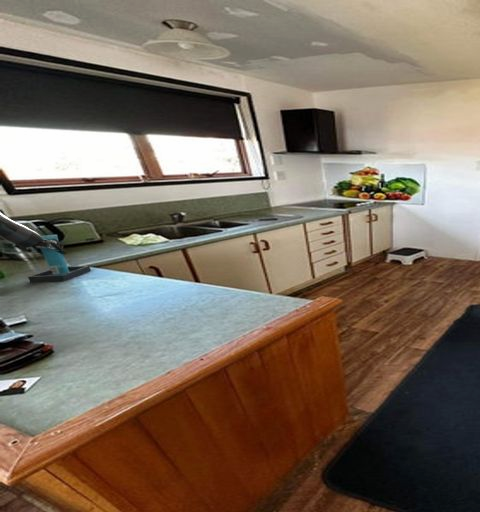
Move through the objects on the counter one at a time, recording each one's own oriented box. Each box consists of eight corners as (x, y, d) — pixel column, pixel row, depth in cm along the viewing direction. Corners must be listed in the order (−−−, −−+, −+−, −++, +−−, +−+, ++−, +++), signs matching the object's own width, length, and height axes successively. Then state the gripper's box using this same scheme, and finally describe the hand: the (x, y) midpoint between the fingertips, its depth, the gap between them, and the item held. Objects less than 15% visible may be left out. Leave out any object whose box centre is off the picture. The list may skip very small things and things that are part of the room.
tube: (74, 271, 132) (59, 233, 126) (71, 274, 128) (54, 235, 122) (52, 275, 128) (35, 235, 122) (48, 278, 124) (30, 237, 118)
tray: (30, 282, 122) (27, 276, 121) (59, 271, 134) (57, 266, 133) (64, 280, 123) (62, 275, 122) (91, 270, 135) (89, 265, 134)
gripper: (43, 225, 115) (77, 244, 129) (0, 228, 112) (39, 247, 126) (37, 241, 112) (72, 258, 126) (-8, 244, 108) (33, 262, 123)
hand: (55, 253), depth 126 cm, fingers closed on tube, 6 cm apart
